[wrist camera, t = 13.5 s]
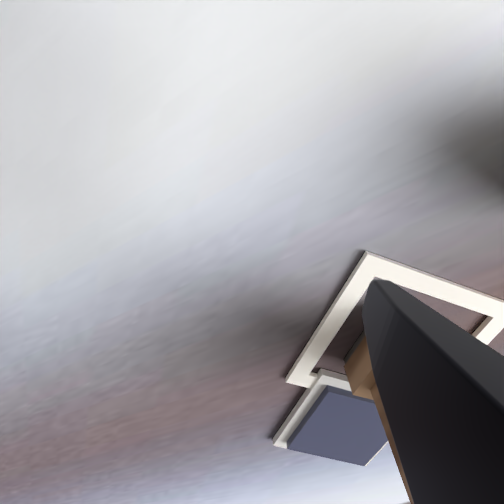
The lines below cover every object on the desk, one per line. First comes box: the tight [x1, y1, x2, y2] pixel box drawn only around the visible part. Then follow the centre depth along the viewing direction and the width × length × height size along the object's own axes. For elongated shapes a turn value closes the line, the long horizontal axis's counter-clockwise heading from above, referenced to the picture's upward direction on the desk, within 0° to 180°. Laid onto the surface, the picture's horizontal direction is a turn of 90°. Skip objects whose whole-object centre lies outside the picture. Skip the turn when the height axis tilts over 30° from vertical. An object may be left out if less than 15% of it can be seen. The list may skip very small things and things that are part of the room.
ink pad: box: [273, 368, 389, 466], centre depth 30 cm, size 9×9×1 cm
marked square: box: [286, 251, 504, 389], centre depth 26 cm, size 11×11×1 cm
